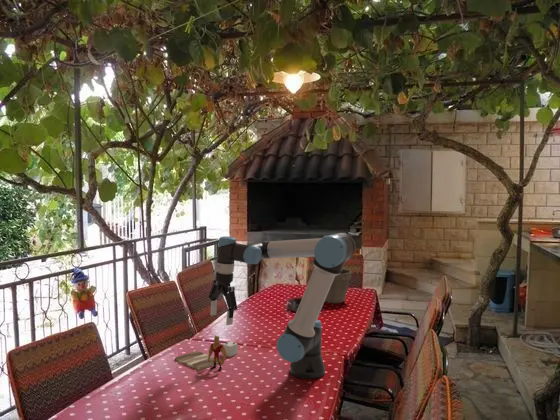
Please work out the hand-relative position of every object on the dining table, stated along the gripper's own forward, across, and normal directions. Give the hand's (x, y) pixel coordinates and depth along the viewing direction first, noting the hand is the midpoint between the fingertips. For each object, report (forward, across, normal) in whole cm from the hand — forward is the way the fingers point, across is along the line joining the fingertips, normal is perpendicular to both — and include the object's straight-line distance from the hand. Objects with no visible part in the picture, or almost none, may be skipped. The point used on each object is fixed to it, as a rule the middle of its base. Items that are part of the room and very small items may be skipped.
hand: (221, 319), depth 195 cm
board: (+23, -11, -4) cm, 26 cm away
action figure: (+22, +2, -1) cm, 22 cm away
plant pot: (+21, -53, +126) cm, 139 cm away
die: (+22, -10, +13) cm, 27 cm away
